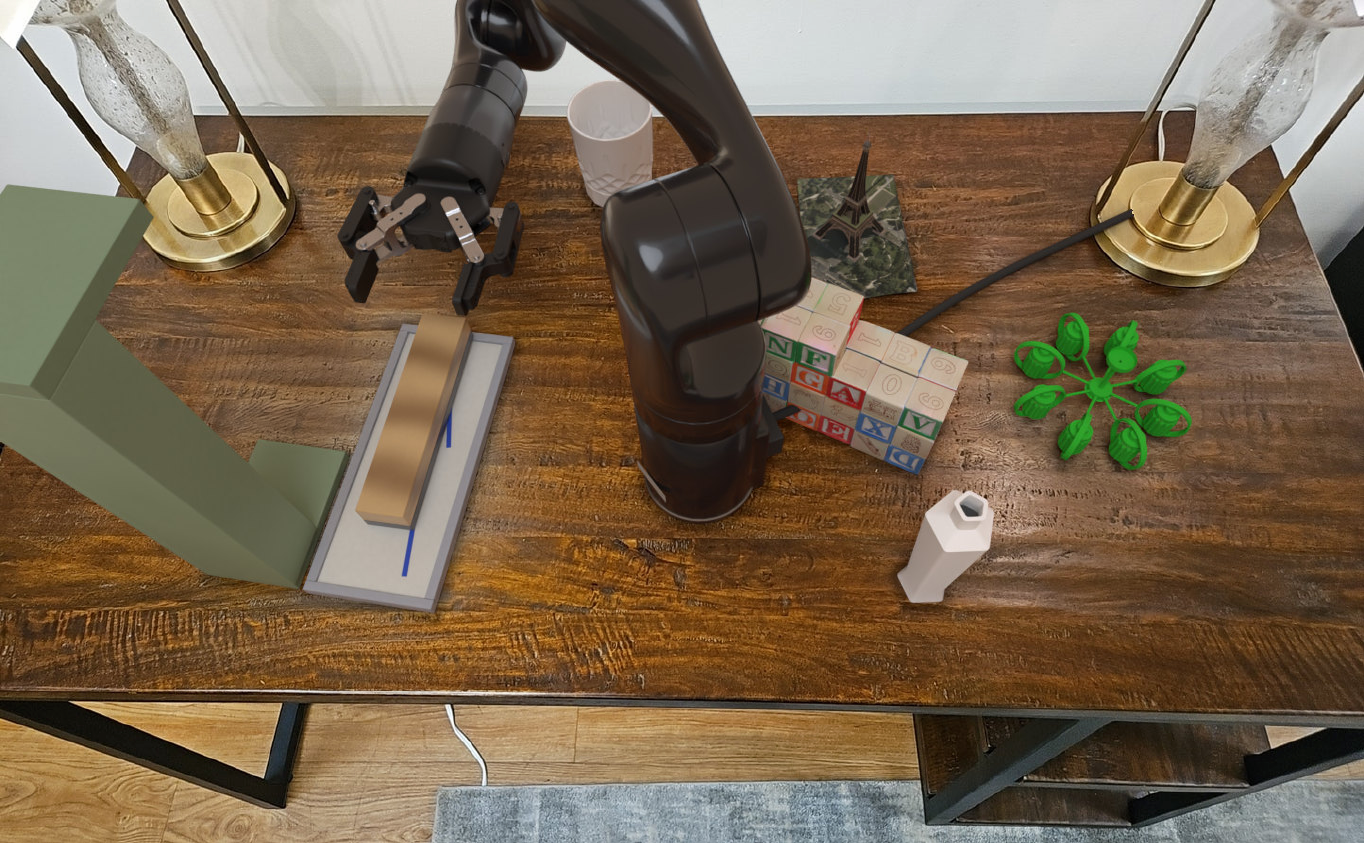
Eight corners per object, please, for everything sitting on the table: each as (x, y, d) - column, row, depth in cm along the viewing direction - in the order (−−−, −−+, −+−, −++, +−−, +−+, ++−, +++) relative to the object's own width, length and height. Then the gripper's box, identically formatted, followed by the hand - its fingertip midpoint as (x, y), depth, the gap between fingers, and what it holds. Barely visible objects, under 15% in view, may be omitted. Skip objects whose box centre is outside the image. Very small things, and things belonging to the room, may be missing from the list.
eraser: (431, 331, 81) (422, 312, 79) (474, 336, 81) (465, 317, 78) (367, 524, 73) (354, 510, 70) (414, 530, 72) (402, 517, 70)
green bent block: (263, 444, 77) (6, 183, 49) (350, 456, 77) (139, 198, 48) (206, 574, 72) (-119, 365, 44) (299, 589, 71) (28, 385, 43)
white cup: (672, 175, 91) (668, 98, 82) (629, 227, 88) (620, 152, 79) (609, 147, 93) (598, 68, 84) (565, 196, 90) (549, 120, 81)
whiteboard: (405, 329, 83) (402, 323, 82) (515, 343, 82) (513, 336, 81) (307, 593, 71) (302, 589, 70) (434, 613, 70) (430, 609, 69)
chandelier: (1132, 315, 81) (1166, 267, 75) (1213, 459, 74) (1258, 419, 68) (976, 346, 80) (998, 301, 74) (1043, 496, 73) (1073, 459, 67)
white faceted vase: (946, 551, 71) (1000, 471, 58) (956, 604, 69) (1014, 534, 56) (889, 553, 71) (929, 474, 58) (897, 607, 69) (941, 537, 56)
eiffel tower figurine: (919, 297, 83) (953, 197, 71) (810, 304, 83) (827, 205, 71) (892, 177, 90) (919, 68, 78) (792, 183, 90) (804, 75, 78)
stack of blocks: (943, 418, 77) (981, 339, 66) (917, 477, 74) (952, 405, 63) (721, 326, 82) (723, 239, 71) (690, 378, 79) (686, 296, 68)
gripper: (371, 112, 75) (302, 264, 67) (534, 127, 73) (483, 285, 66) (398, 176, 81) (339, 320, 74) (549, 191, 80) (504, 340, 73)
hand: (407, 303), depth 70 cm, fingers open, 8 cm apart
